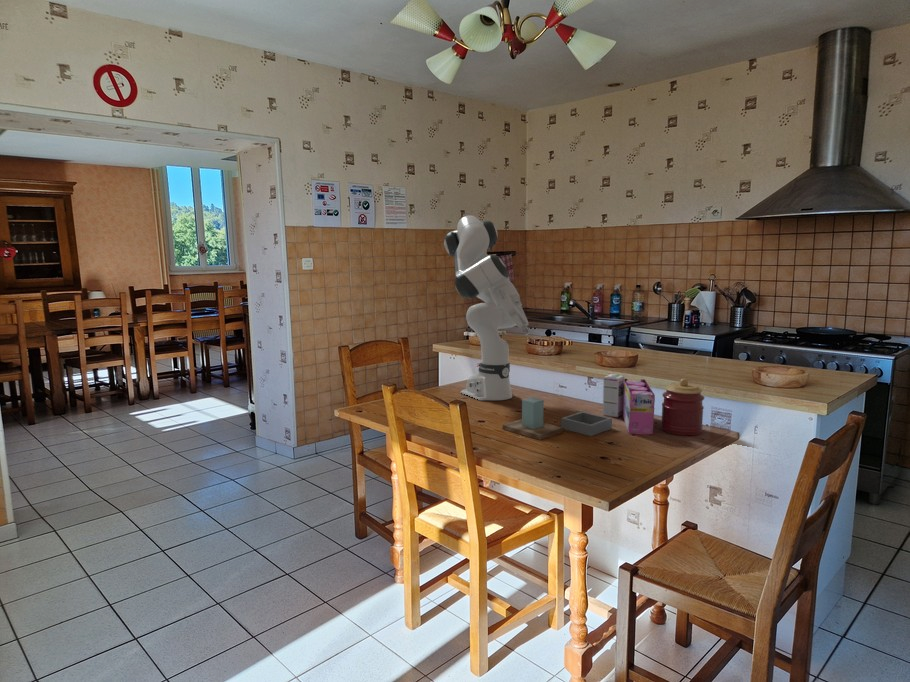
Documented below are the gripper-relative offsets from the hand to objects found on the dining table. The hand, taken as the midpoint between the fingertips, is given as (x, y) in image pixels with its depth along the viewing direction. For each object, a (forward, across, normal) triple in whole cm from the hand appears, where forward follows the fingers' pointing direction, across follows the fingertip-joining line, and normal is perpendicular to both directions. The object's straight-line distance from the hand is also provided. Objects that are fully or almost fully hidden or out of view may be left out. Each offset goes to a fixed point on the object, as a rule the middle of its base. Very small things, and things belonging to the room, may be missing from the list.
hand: (523, 330), depth 200 cm
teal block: (+29, +5, +13) cm, 33 cm away
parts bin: (+37, +14, -1) cm, 39 cm away
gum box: (+42, +25, -16) cm, 51 cm away
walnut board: (+31, +6, +14) cm, 34 cm away
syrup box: (+33, +33, -11) cm, 48 cm away
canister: (+50, +23, -28) cm, 62 cm away
